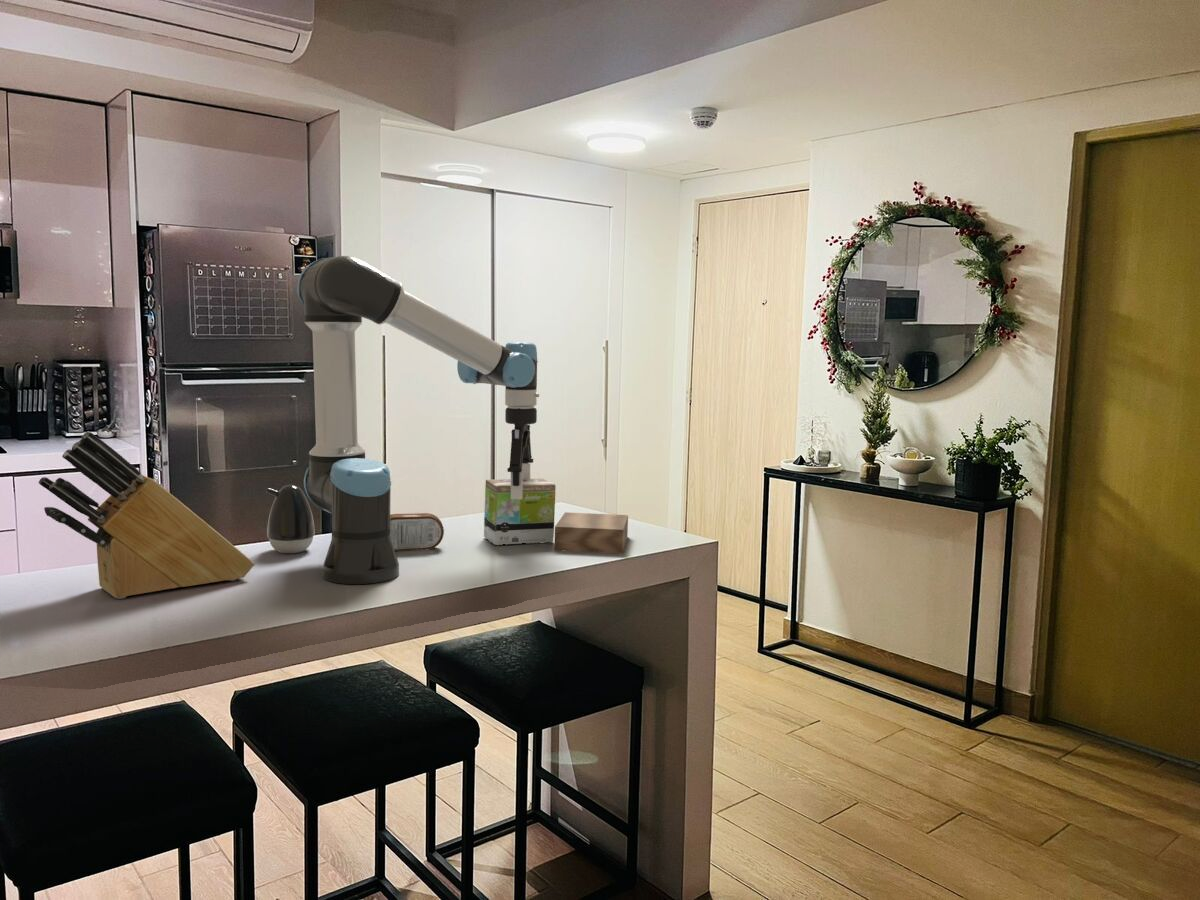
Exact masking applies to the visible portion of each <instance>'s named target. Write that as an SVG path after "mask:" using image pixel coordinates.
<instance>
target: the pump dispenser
mask: <svg viewBox="0 0 1200 900" xmlns="http://www.w3.org/2000/svg"><path fill="white" fill-rule="evenodd" d="M265 492H266V494H269V495H272V496H274V497H275V498H274V500H273V503H272V505H271V508H270V511H269V516H268V522H267V529H266V536H267V538H268V541H269V544H270V545H271V546H272V548H273V549H274V550H275V551H277V552H279V553H280V552H281V553H280V554H286V553H292V554H299V553H302V552H304V551H305V550H307V549H309V547H310V546H311V544H312V542H313V540H314V536H315V533H316V532H315V531H316V530H315V523H314V517H313V512H312V509H311V507H310V503H309V501H308V497H307V496H306V495H305V494H306V493H304V491H303V490H302V489H301V487H299V486H297V485H295V484H287V485H284V486H282V487H281V488H280V489H279V490H276V489H273V488H271V487H267V488H266V490H265Z"/></svg>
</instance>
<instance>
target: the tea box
mask: <svg viewBox="0 0 1200 900" xmlns="http://www.w3.org/2000/svg"><path fill="white" fill-rule="evenodd" d="M484 487H485V489H484V490H485V491H484V513H483V514H484V517H483V523H484V524H483V538H485V540H487V539H488V540H489V541H488V540H487V541H488V542H489V543H491V542H492V543H493V544H492V543H491V544H492V545H494V544H495V545H497V546H502V545H503V544H505V545H521V544H522V543H526V544H542V543H541V542H552V543H553V542H554V538H555V510H556V509H555V508H556V507H555V506H556V484H555V483H553V482H552V481H551V482H550V481H548V480H546V479H544V478H530V479H523V495H522V499H511V478H505V479H503V478H502V479H485V486H484ZM538 542H539V543H538ZM495 545H494V546H495ZM522 545H523V544H522Z"/></svg>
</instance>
